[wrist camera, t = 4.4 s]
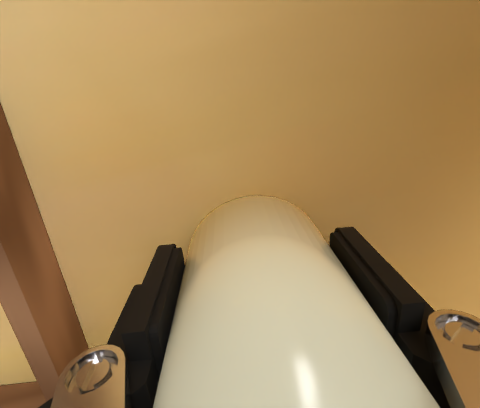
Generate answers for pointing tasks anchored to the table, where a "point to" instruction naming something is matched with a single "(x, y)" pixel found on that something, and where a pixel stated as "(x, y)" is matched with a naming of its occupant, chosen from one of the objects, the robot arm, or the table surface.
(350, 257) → the robot arm
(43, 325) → the walnut tray
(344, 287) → the celadon canister
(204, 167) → the table surface
